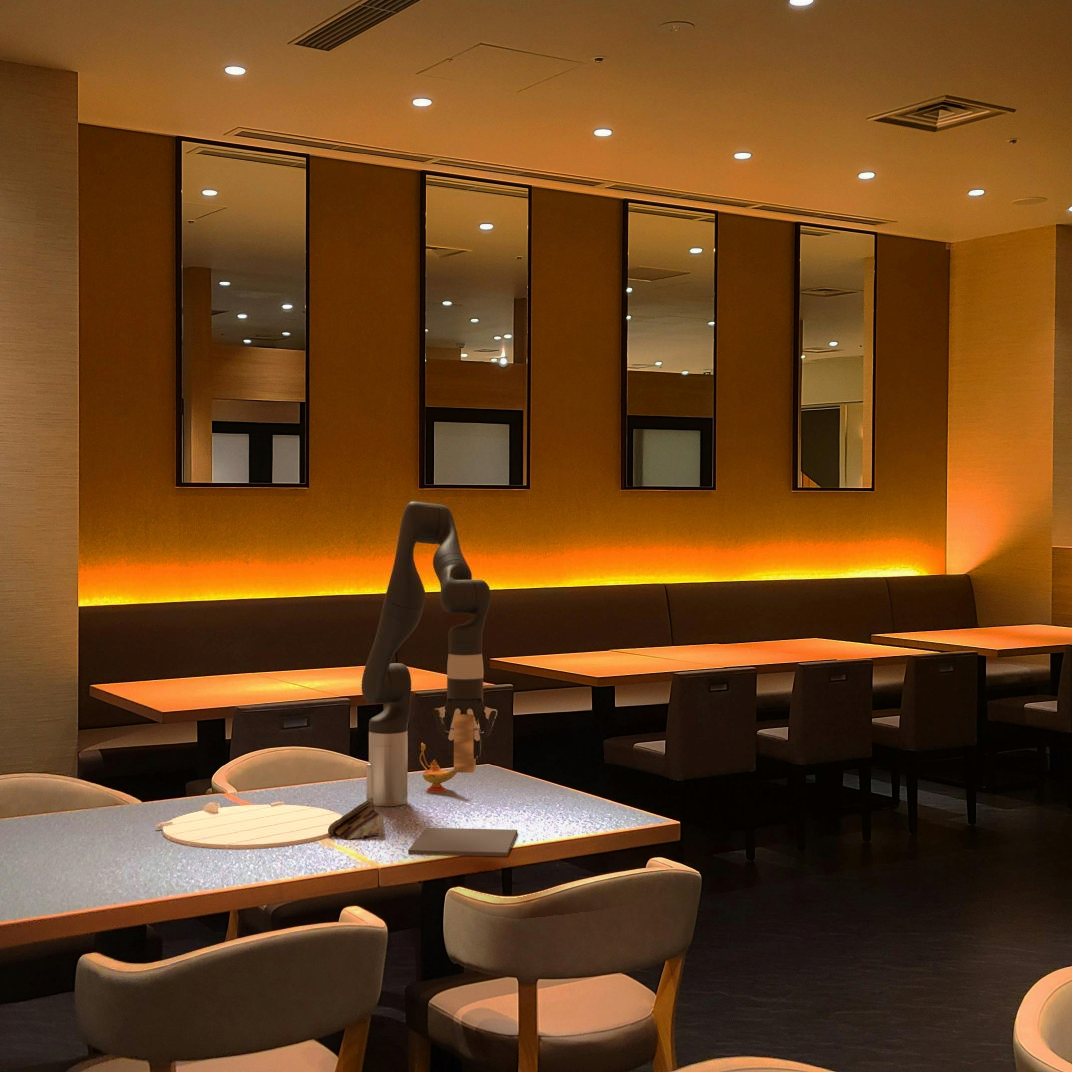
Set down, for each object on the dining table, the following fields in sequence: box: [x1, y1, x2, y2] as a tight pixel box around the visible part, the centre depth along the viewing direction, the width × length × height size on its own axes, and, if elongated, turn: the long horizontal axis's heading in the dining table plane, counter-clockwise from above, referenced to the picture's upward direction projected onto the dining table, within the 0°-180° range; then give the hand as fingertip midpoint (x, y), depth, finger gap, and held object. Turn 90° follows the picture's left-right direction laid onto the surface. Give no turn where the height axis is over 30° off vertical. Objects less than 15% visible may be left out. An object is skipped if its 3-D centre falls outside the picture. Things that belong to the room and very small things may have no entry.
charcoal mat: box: [407, 827, 518, 857], centre depth 272 cm, size 20×20×1 cm
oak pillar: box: [453, 714, 477, 774], centre depth 272 cm, size 4×4×12 cm
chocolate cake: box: [328, 798, 386, 841], centre depth 280 cm, size 10×7×12 cm
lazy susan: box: [155, 801, 343, 850], centre depth 287 cm, size 40×39×3 cm
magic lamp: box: [419, 742, 458, 793], centre depth 327 cm, size 7×18×11 cm, turn 40°
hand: (464, 757), depth 272 cm, fingers closed on oak pillar, 4 cm apart
